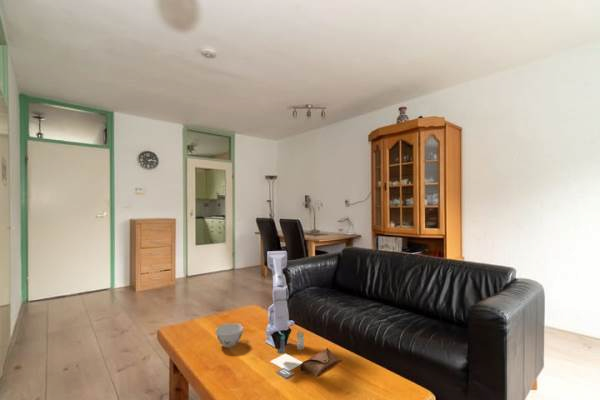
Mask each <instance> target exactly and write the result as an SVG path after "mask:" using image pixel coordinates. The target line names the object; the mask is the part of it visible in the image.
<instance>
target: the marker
mask: <svg viewBox="0 0 600 400" xmlns="http://www.w3.org/2000/svg"><path fill="white" fill-rule="evenodd" d="M281 334H282V333H281ZM276 350H277V353H278V354H280V355H284V354H286V346H285V334H282V336H281V340H280V349H279V350H278V349H276Z"/></svg>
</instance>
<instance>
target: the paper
mask: <svg viewBox="0 0 600 400" xmlns="http://www.w3.org/2000/svg"><path fill="white" fill-rule="evenodd" d="M269 362H270V363H271V364H273V365H274V366H276V367H278V368H280V369H282V368H285V369H287V370H288V371H290V372H292V370H294V369H295V368H297V367H299V366H301V364H302V363H303V362H304V361H301V360H299V359H298V358H296V357H294V356H291V355H289V354H288V353H283V354H281V355H280V356H277V357H276V358H273V359H272V360H270V361H269Z"/></svg>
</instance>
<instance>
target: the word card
mask: <svg viewBox="0 0 600 400" xmlns="http://www.w3.org/2000/svg"><path fill="white" fill-rule="evenodd" d="M275 373H276V374H277V375H279V376H281V377H283V378H284V379H285V380H286V379H289V378H290V377H293V376H294V372H292V371H288V370H287V369H285V368H282V369H281V368H280V369H279V370H277V371H275Z"/></svg>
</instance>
